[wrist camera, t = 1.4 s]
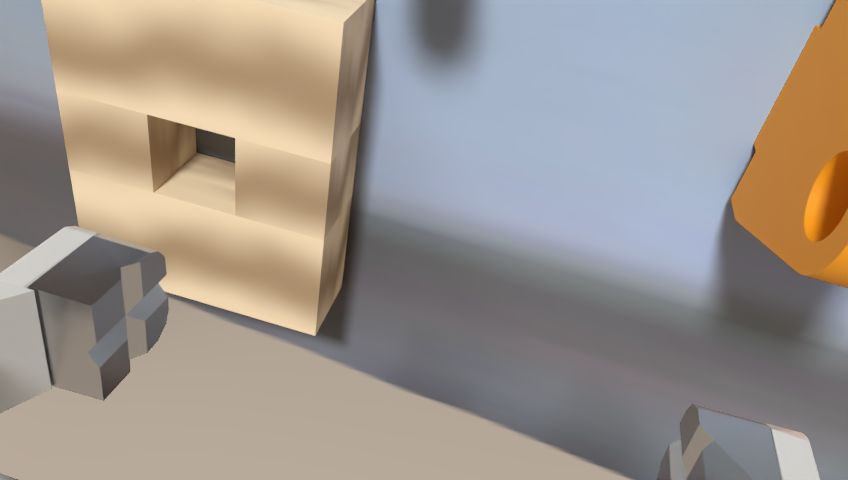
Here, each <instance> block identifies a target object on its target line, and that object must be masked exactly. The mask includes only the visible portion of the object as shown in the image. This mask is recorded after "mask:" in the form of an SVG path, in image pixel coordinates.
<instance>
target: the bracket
mask: <svg viewBox="0 0 848 480" xmlns="http://www.w3.org/2000/svg"><path fill="white" fill-rule="evenodd" d="M754 146H755V150H756V152H755V154H754V156H753V158H752V160H751V162H750V163H749V165H748V167H747V169H746V171H745V173H744V175H743V177H742V178H741V180H740V182H739V184H738V186H737V188H736V190H735V192H734V194H733V195H732V197H731V202H732V207H733V212H734V217H735V220H736V221H737V222H738V223H739V224H741V225H742V226H743V227H744V228H745V229H746V230H748V231H749V232H750V233H751V234H752V235H754V236H755V237H756V238H757V239H758V240H759V241H761V242H762V243H763V244H764V245H765V246H767V247H768V248H769V249H770V250H771V251H772V252H774V253H775V254H776V255H777V256H778V257H780V258H781V259H782V260H783V261H784V262H786V263H787V264H788V265H789V266H790V267H791V268H793V269H794V270H795V271H796V272H797V273H799V274H801V275H804V276H808V277H811V278H815V279H818V280H822V281H825V282H829V283H832V284H836V285H839V286H843V287H846V288H848V0H836V1H835V3H834V5H833V7H832V9H831V11H830V13H829V14H828V16H827V18H826V20H825V22H824V24H823V26H822V27H821V26H817V25H816V26H815V27H814V29H813V31H812V33H811V35H810V37H809V39H808V41H807V43H806V45H805V47H804V48H803V50H802V52H801V54H800V56H799V58H798V60H797V62H796V64H795V66H794V68H793V69H792V71H791V73H790V75H789V77H788V79H787V81H786V83H785V85H784V87H783V88H782V90H781V92H780V94H779V96H778V98H777V100H776V102H775V104H774V106H773V108H772V109H771V111H770V113H769V115H768V117H767V119H766V121H765V123H764V125H763V127H762V129H761V130H760V132H759V134H758V136H757V138H756V140H755V142H754Z"/></svg>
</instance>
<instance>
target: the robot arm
mask: <svg viewBox="0 0 848 480" xmlns="http://www.w3.org/2000/svg"><path fill="white" fill-rule="evenodd" d="M166 275H167V272H166V262H165V256H163V255H162V254H161V253H160V252H159V251H156V250H153V249H150V248H147V247H143V246H140V245H137V244H134V243H131V242H127V241H124V240H121V239H118V238H115V237H111V236H108V235H105V234H99V233H97V232H94V231H90V230H87V229H84V228H80V227H77V226H70V227H64V228H63V229H61V230H60V231H59V232H57V233H56V234H54V235H53V236H52V237H50V238H49V239H47V240H46V241H45V242H43V243H42V244H40V245H39V246H38V247H36V248H35V249H33V250H32V251H31V252H29V253H28V254H26V255H25V256H24V257H22V258H21V259H19V260H18V261H17V262H15V263H14V264H12V265H11V266H10V267H8V268H7V269H5V270H4V271H3V272H1V273H0V413H2V412H3V411H6V410H8V409H10V408H12V407H14V406H16V405H19V404H21V403H23V402H25V401H27V400H29V399H31V398H33V397H35V396H37V395H40V394H42V393H44V392H46V391H48V390H50V389H52V386H55V387H58V388H62V389H65V390H69V391H72V392H76V393H79V394H83V395H86V396H90V397H93V398H96V399H100V400H105V399H106V397H107V396H108V395H109V394H110V393H111V392H112V391H113V390H114V389H115V388H116V387H117V385H118V384H119V383H120V382H121V381H122V380H123V379H124V378H125V377H126V376H127V374H129V372H130V359H132V358H135V357H137V356H140V355H143V354H145V353H148V351H149V350H150V349H151V348H152V347H153V345H154V344H155V343H156V342H157V341H158V339H159V337H160V335H161V333H162V331H163V328H164V327H165V325H166V320H167V314H168V296H167V295H166V293H165V292H164V291H163V289H162V288H161V286H160V285H159V282H160V281H161V280H162V279H163V278H164V277H165V276H166ZM680 432H681V439H680V440H678V441H676V442H674V443H671V444H669V446H668V448H667V451H666V453H665V455H664V457H663V459H662V462H661V466H660V470H659V474H658V477H657V480H820V477H819V474H818V470H817V467H816V463H815V460H814V456H813V453H812V449H811V446H810V442H809V439H808V438H807V437H806V436H805V435H804V434H803V433H800V432H797V431H793V430H789V429H785V428H781V427H778V426H774V425H770V424H762V423H759V422H756V421H752V420H749V419H745V418H741V417H738V416H734V415H731V414H727V413H724V412H720V411H716V410H713V409H709V408H706V407H702V406H698V405H695V404H692V405H691V406H690V407H689V408H688V409H687V410H686V412H685V414H684V416H683V418H682V420H681V422H680ZM0 480H18V479H15V478H12V477H9V476H6V475H3V474H0Z"/></svg>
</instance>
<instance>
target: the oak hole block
mask: <svg viewBox="0 0 848 480" xmlns="http://www.w3.org/2000/svg"><path fill="white" fill-rule="evenodd" d="M41 1H42V7H43V13H44V19H45V25H46V31H47V37H48V43H49V49H50V56H51V62H52V68H53V74H54V80H55V86H56V92H57V98H58V104H59V110H60V116H61V122H62V128H63V134H64V140H65V146H66V152H67V158H68V164H69V170H70V176H71V182H72V188H73V194H74V200H75V206H76V212H77V218H78V224H79V227H80V228H84V229H87V230H90V231H94V232H97V233H99V234H105V235H108V236H111V237H115V238H118V239H121V240H124V241H127V242H131V243H134V244H137V245H140V246H143V247H147V248H150V249H153V250H156V251H159V252H160V253H161V254H162V255H163V256H165V262H166V272H167V275H166V276H165V277H164V278H163V279H162V280H161V281H160V282H159V285H160V286H161V288H162V289H163V291H165V292H168V293H171V294H175V295H178V296H182V297H185V298H188V299H192V300H195V301H199V302H202V303H205V304H209V305H212V306H216V307H219V308H222V309H226V310H229V311H232V312H236V313H239V314H243V315H246V316H249V317H253V318H256V319H260V320H263V321H266V322H270V323H273V324H277V325H280V326H283V327H287V328H290V329H294V330H297V331H300V332H304V333H307V334H310V335H314V336H315V335H316V334H317V332H318V330H319V328H320V326H321V324H322V322H323V321H324V319H325V317H326V315H327V313H328V311H329V309H330V308H331V306H332V304H333V302H334V300H335V298H336V296H337V295H338V293H339V291H340V289H341V287H342V281H343V272H344V263H345V255H346V246H347V237H348V229H349V220H350V211H351V203H352V194H353V185H354V177H355V168H356V159H357V151H358V142H359V133H360V125H361V116H362V107H363V99H364V90H365V81H366V73H367V64H368V55H369V47H370V38H371V29H372V21H373V12H374V3H375V0H41ZM196 128H199V129H203V130H207V131H210V132H214V133H218V134H222V135H225V136H229V137H233V138H235V163H234V162H230V161H226V160H223V159H219V158H215V157H212V156H208V155H204V154H201V153H197V151H196Z"/></svg>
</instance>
